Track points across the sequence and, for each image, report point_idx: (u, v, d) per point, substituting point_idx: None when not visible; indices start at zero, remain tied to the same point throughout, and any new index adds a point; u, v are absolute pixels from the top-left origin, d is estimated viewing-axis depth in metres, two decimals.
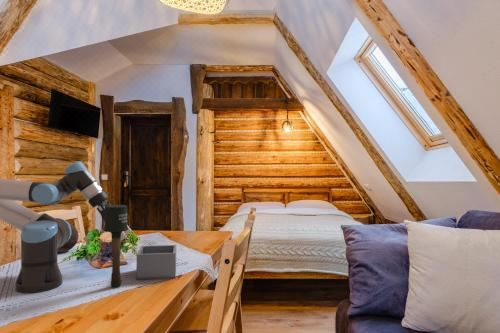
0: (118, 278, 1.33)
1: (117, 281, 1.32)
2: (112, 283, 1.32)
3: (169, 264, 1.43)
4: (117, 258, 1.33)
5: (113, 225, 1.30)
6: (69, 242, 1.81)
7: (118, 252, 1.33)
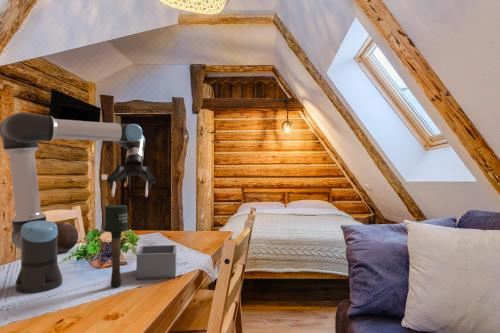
0: (118, 278, 1.33)
1: (117, 281, 1.32)
2: (112, 283, 1.32)
3: (169, 264, 1.43)
4: (117, 258, 1.33)
5: (113, 225, 1.30)
6: (69, 241, 1.81)
7: (118, 252, 1.33)
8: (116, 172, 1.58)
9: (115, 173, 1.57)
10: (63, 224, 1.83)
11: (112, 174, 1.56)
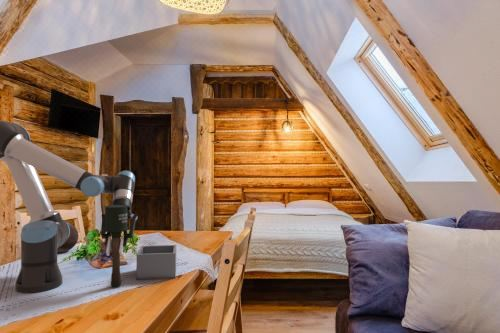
0: (118, 278, 1.33)
1: (117, 281, 1.32)
2: (112, 283, 1.32)
3: (169, 264, 1.43)
4: (117, 258, 1.33)
5: (113, 225, 1.30)
6: (69, 241, 1.81)
7: (118, 252, 1.33)
8: None
9: None
10: None
11: (103, 226, 1.36)
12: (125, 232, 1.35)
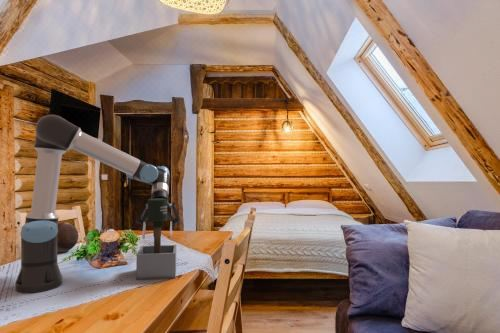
0: None
1: None
2: None
3: (169, 264, 1.43)
4: (158, 245, 1.49)
5: (155, 216, 1.46)
6: (69, 242, 1.81)
7: (159, 240, 1.49)
8: (144, 210, 1.54)
9: (143, 212, 1.53)
10: (63, 224, 1.83)
11: (140, 213, 1.52)
12: (172, 218, 1.53)
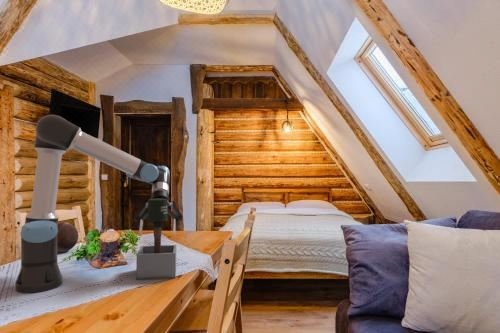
0: None
1: None
2: None
3: (169, 264, 1.43)
4: (158, 245, 1.49)
5: (155, 216, 1.46)
6: (69, 242, 1.81)
7: (159, 240, 1.49)
8: (142, 209, 1.54)
9: (142, 210, 1.54)
10: (63, 224, 1.83)
11: (139, 211, 1.53)
12: (175, 216, 1.54)
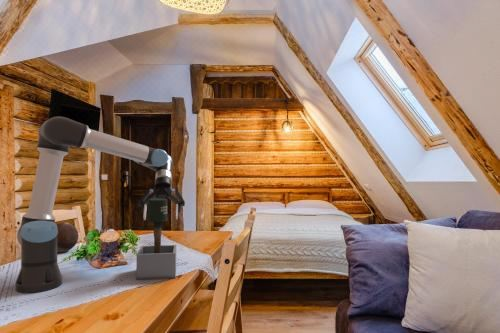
0: None
1: None
2: None
3: (169, 264, 1.43)
4: (158, 245, 1.49)
5: (156, 216, 1.46)
6: (69, 242, 1.81)
7: (159, 240, 1.49)
8: (146, 195, 1.62)
9: (146, 196, 1.61)
10: (63, 224, 1.83)
11: (143, 197, 1.60)
12: (178, 201, 1.61)
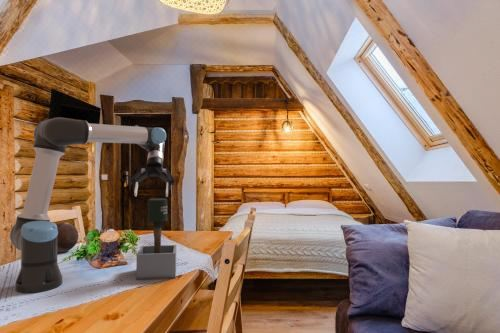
0: None
1: None
2: None
3: (169, 264, 1.43)
4: (158, 245, 1.49)
5: (156, 216, 1.46)
6: (69, 241, 1.81)
7: (159, 240, 1.49)
8: (138, 173, 1.67)
9: (137, 174, 1.67)
10: (63, 224, 1.83)
11: (134, 175, 1.66)
12: (168, 180, 1.67)
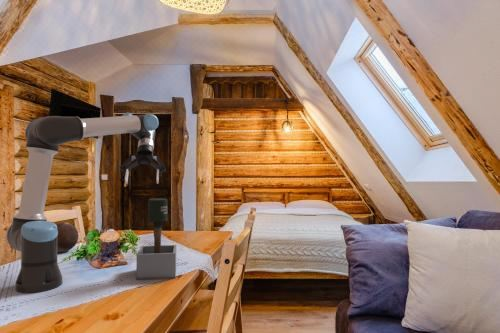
0: None
1: None
2: None
3: (169, 264, 1.43)
4: (159, 245, 1.49)
5: (156, 216, 1.46)
6: (69, 242, 1.81)
7: (159, 240, 1.49)
8: (128, 161, 1.67)
9: (128, 162, 1.67)
10: (63, 224, 1.83)
11: (125, 162, 1.66)
12: (159, 167, 1.67)
